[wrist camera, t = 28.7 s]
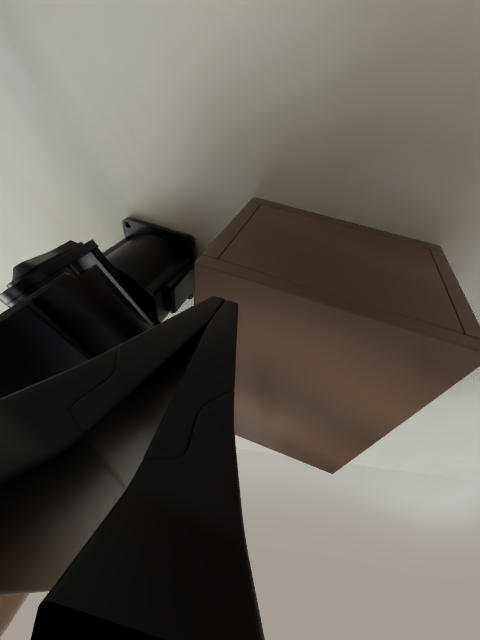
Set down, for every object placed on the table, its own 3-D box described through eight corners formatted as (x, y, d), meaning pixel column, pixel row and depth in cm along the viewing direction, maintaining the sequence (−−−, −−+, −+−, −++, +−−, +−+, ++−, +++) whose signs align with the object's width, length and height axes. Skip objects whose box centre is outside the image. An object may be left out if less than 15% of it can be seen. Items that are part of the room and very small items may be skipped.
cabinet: (338, 381, 27) (332, 474, 20) (230, 343, 28) (193, 418, 22) (440, 245, 16) (495, 356, 9) (253, 196, 18) (193, 262, 11)
